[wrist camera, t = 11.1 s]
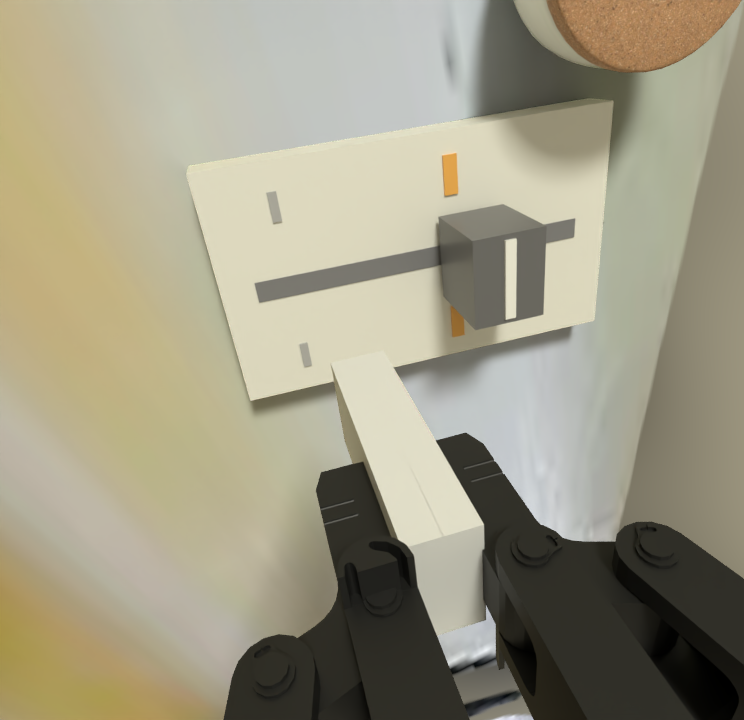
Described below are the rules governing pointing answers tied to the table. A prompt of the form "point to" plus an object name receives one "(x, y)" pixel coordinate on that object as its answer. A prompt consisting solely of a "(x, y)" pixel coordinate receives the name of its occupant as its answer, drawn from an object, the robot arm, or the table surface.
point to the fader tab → (493, 265)
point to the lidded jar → (624, 30)
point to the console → (395, 237)
